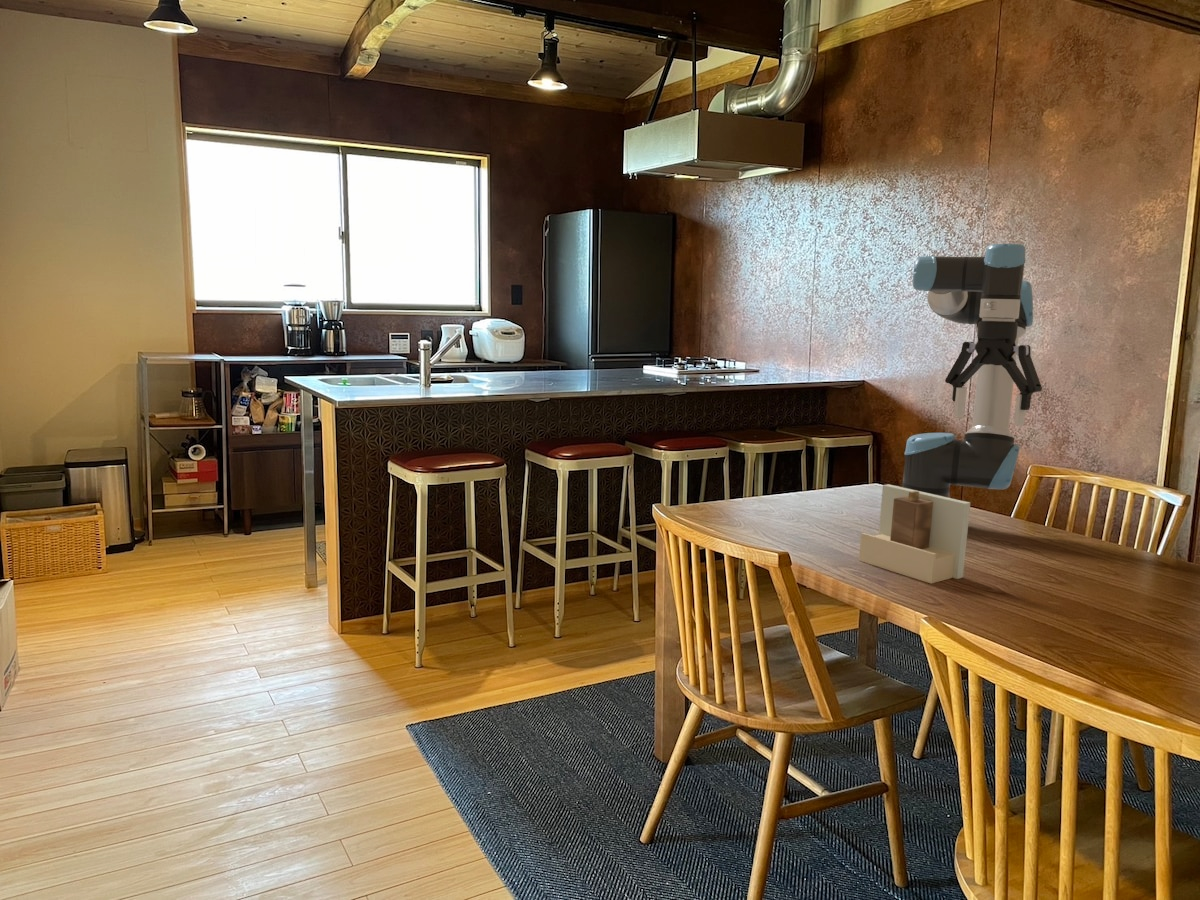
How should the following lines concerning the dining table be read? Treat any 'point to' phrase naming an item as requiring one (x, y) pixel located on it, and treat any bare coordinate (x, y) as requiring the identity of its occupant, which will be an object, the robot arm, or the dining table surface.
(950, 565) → the wall board
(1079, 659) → the dining table surface
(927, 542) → the wooden block with peg
